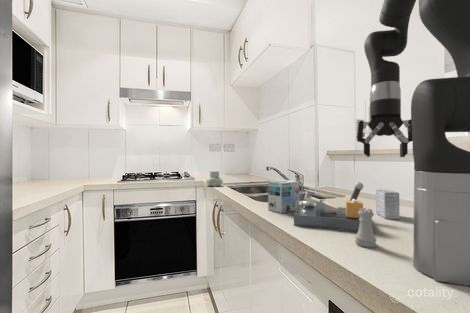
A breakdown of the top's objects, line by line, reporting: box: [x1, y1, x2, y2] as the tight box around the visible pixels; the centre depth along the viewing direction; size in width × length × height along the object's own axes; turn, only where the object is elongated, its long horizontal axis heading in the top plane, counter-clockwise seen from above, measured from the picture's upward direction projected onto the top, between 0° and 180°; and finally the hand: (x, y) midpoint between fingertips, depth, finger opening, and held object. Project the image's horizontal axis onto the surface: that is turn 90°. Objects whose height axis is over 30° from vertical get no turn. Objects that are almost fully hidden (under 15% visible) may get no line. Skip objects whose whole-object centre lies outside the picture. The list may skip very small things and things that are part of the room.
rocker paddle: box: [303, 194, 338, 212], centre depth 77 cm, size 4×10×1 cm, turn 70°
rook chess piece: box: [354, 207, 378, 249], centre depth 55 cm, size 4×4×8 cm
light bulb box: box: [267, 179, 301, 214], centre depth 91 cm, size 11×7×11 cm, turn 129°
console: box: [293, 198, 374, 233], centre depth 75 cm, size 17×20×6 cm
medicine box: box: [375, 189, 401, 220], centre depth 82 cm, size 8×4×9 cm, turn 168°
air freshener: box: [205, 170, 223, 187], centre depth 164 cm, size 11×8×10 cm
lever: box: [349, 181, 364, 201], centre depth 78 cm, size 3×3×9 cm
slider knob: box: [345, 199, 364, 218], centre depth 69 cm, size 4×4×5 cm
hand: (384, 156), depth 70 cm, fingers open, 8 cm apart
